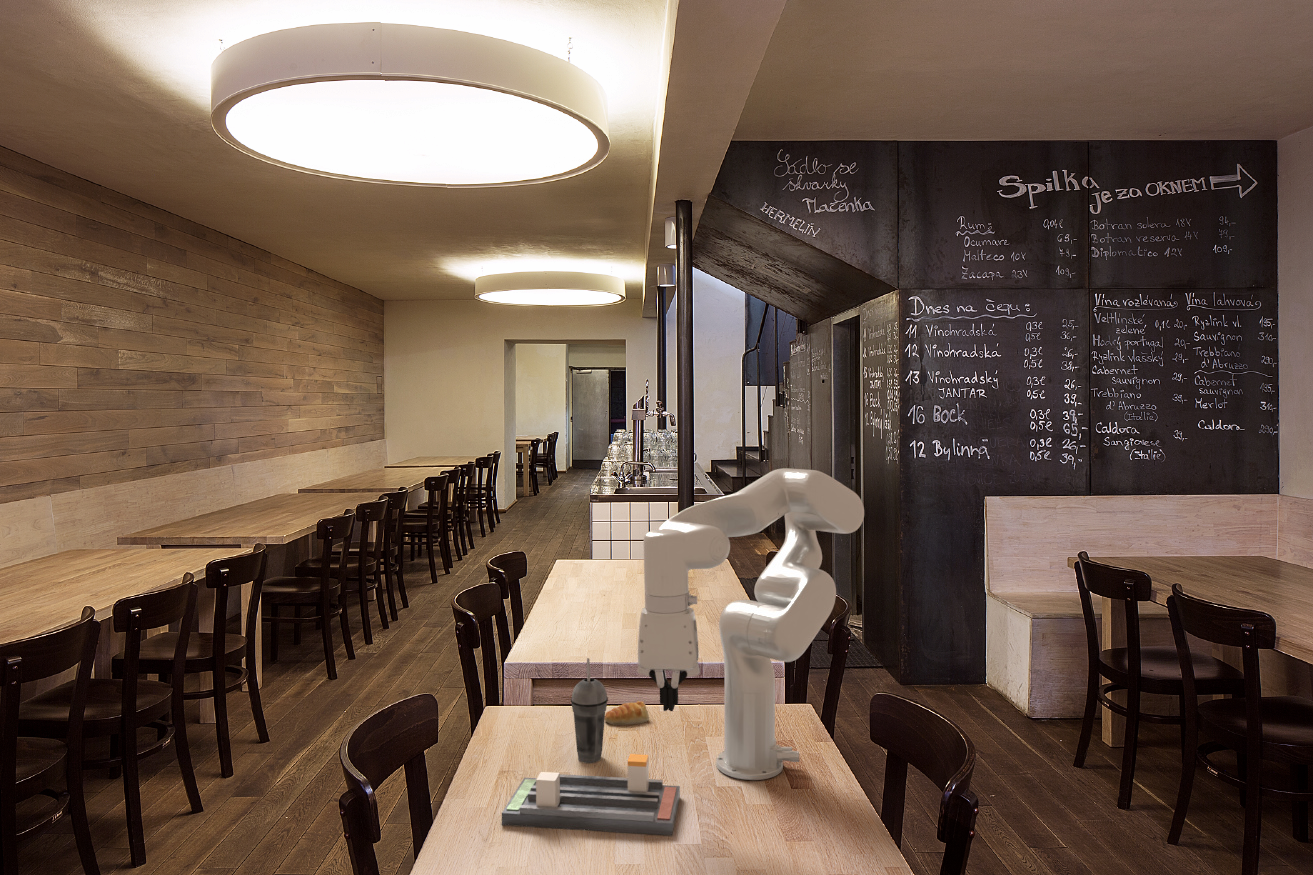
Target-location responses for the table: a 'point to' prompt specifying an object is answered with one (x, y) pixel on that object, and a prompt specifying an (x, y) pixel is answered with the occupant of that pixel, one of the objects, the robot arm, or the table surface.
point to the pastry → (628, 714)
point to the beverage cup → (589, 717)
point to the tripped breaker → (638, 773)
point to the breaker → (548, 789)
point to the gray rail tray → (597, 806)
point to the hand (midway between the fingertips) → (669, 707)
